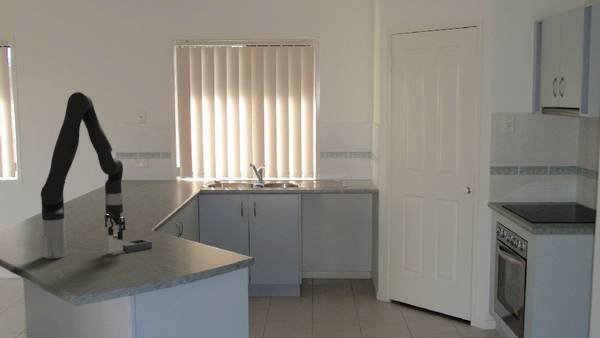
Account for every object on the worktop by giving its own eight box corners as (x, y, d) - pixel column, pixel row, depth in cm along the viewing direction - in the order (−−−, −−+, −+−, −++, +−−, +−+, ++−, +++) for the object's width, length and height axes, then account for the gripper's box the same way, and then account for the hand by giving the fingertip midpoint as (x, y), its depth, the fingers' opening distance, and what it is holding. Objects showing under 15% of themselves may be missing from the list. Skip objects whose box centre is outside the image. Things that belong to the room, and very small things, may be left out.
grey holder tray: (127, 253, 296) (126, 246, 296) (118, 250, 302) (118, 243, 301) (152, 248, 305) (151, 241, 305) (143, 246, 311) (142, 239, 310)
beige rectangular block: (114, 254, 293) (113, 236, 292) (109, 252, 296) (108, 235, 295) (123, 252, 296) (122, 234, 295) (118, 250, 299) (117, 233, 298)
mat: (113, 255, 292) (113, 254, 292) (107, 253, 296) (106, 252, 296) (125, 253, 296) (125, 252, 296) (118, 251, 300) (118, 250, 300)
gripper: (98, 202, 296) (100, 237, 298) (114, 205, 286) (115, 241, 288) (113, 200, 301) (115, 234, 303) (129, 203, 291) (131, 239, 293)
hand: (115, 238), depth 295 cm, fingers open, 8 cm apart
